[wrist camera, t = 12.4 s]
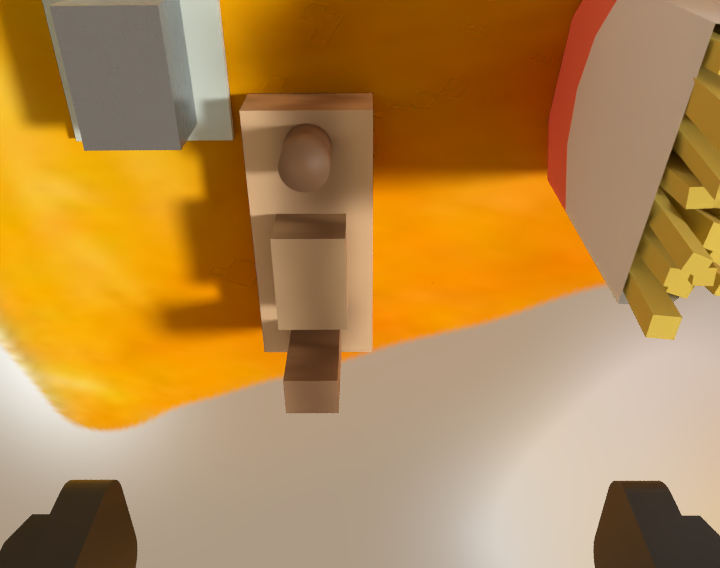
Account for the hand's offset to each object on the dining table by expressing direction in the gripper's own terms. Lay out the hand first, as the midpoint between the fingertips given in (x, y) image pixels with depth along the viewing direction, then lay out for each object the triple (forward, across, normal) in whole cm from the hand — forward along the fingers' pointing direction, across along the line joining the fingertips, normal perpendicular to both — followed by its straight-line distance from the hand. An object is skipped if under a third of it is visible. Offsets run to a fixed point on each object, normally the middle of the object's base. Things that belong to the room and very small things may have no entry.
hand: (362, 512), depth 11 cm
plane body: (+30, +3, +10) cm, 32 cm away
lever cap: (+30, +12, 0) cm, 32 cm away
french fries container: (+30, -13, +1) cm, 33 cm away
